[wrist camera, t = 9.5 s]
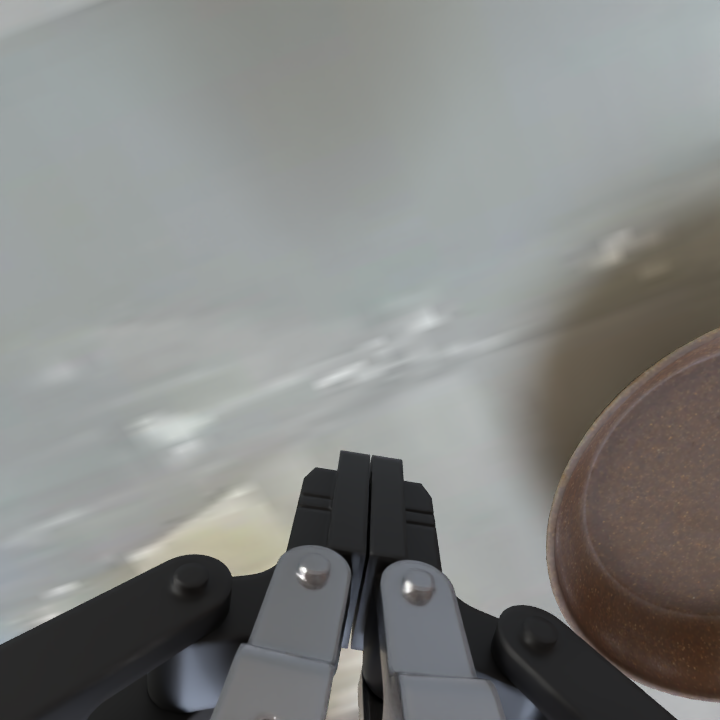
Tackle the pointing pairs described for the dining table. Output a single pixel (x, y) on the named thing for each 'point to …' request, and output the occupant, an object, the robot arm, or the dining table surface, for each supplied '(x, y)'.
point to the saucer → (648, 527)
